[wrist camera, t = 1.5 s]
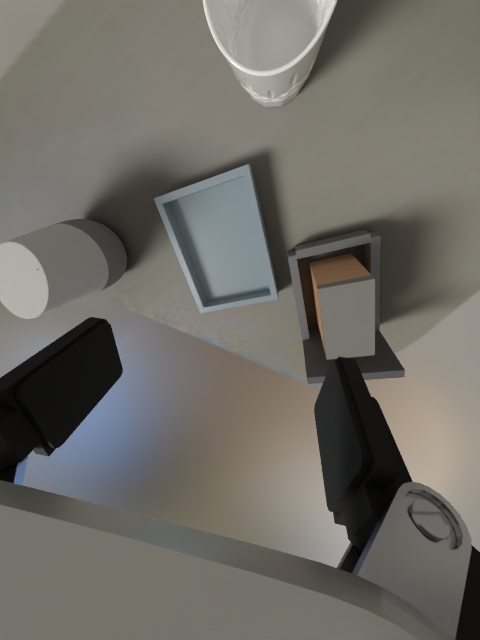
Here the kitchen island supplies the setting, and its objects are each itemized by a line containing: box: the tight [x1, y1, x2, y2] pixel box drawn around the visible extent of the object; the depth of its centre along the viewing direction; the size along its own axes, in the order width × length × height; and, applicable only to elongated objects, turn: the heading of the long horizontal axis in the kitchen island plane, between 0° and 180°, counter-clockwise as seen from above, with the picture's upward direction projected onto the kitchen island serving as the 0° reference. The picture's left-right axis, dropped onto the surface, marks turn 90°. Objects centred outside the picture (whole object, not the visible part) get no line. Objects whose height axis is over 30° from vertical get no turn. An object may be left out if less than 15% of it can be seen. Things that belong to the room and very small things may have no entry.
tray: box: [153, 164, 279, 313], centre depth 29 cm, size 12×16×2 cm
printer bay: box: [288, 229, 405, 384], centre depth 27 cm, size 10×14×10 cm
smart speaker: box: [0, 219, 127, 319], centre depth 28 cm, size 10×9×14 cm
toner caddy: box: [309, 253, 375, 360], centre depth 27 cm, size 5×9×9 cm, turn 16°
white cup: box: [203, 0, 337, 107], centre depth 16 cm, size 8×8×10 cm
